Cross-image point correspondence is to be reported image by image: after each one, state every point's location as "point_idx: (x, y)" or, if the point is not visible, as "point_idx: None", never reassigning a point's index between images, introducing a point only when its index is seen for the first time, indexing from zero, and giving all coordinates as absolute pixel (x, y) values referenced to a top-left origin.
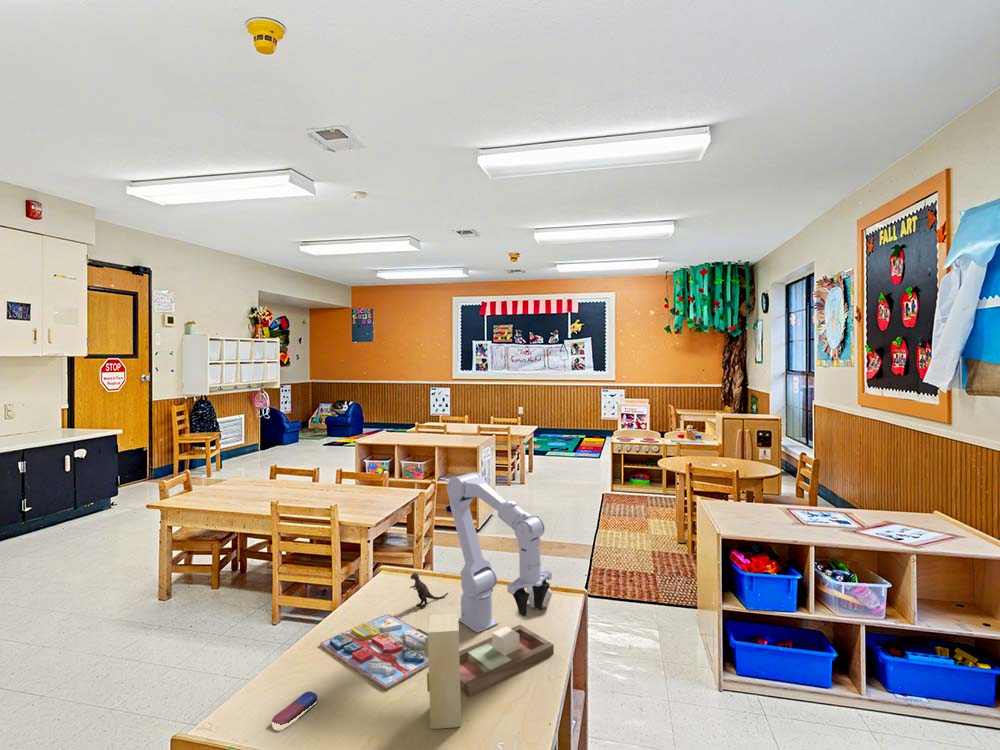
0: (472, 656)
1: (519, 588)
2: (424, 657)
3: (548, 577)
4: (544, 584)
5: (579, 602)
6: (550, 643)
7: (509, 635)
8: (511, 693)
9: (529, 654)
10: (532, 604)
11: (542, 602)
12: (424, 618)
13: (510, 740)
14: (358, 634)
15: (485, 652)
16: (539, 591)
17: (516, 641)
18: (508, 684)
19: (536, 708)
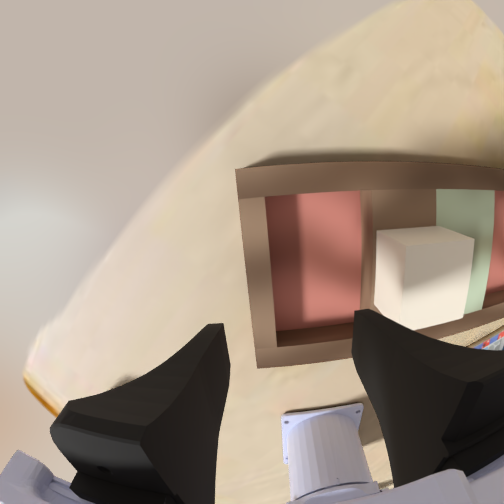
0: (485, 285)
1: (495, 464)
2: (500, 349)
3: (36, 485)
4: (115, 466)
5: (29, 352)
6: (241, 183)
7: (442, 261)
8: (464, 105)
9: (370, 172)
10: None
11: (193, 344)
12: (388, 467)
13: (497, 28)
14: None
15: None
16: (193, 430)
17: (407, 237)
18: (456, 138)
19: (436, 27)
